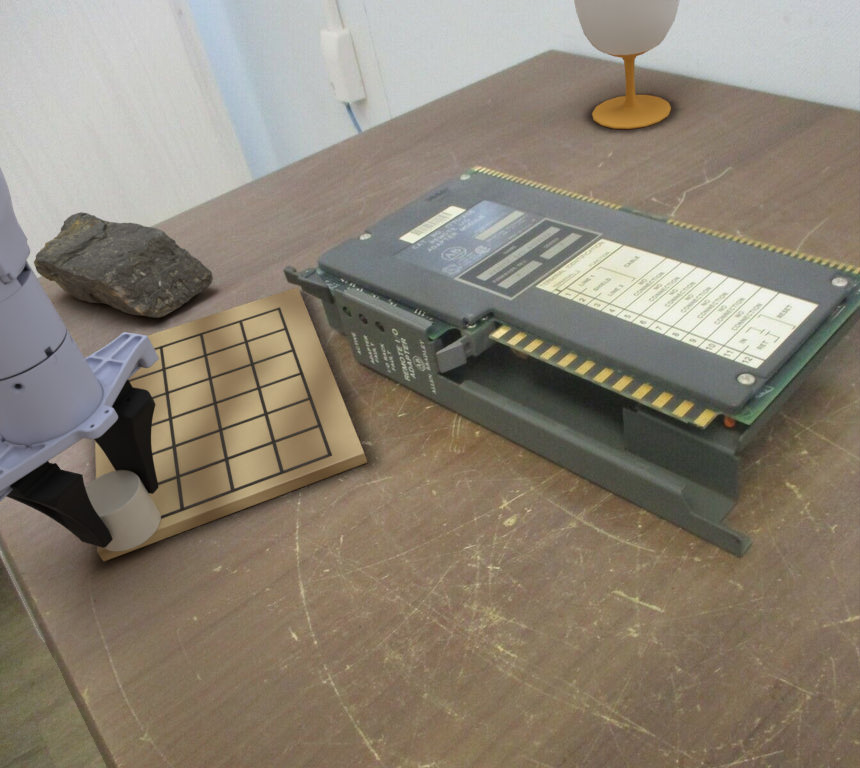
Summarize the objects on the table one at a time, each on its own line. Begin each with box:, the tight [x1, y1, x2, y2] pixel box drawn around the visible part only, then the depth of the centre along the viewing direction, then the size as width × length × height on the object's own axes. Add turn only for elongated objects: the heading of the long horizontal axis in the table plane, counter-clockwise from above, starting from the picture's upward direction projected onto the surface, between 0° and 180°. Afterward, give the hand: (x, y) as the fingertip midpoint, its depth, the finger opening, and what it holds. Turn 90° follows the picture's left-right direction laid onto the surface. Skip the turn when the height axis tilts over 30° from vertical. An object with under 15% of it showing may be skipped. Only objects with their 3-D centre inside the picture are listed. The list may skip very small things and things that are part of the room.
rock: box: [33, 211, 214, 318], centre depth 78 cm, size 17×7×10 cm
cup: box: [573, 0, 680, 130], centre depth 91 cm, size 12×12×17 cm
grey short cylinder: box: [85, 470, 161, 552], centre depth 54 cm, size 4×4×3 cm
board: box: [94, 286, 368, 562], centre depth 65 cm, size 18×24×1 cm
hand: (121, 513), depth 54 cm, fingers closed on grey short cylinder, 4 cm apart
